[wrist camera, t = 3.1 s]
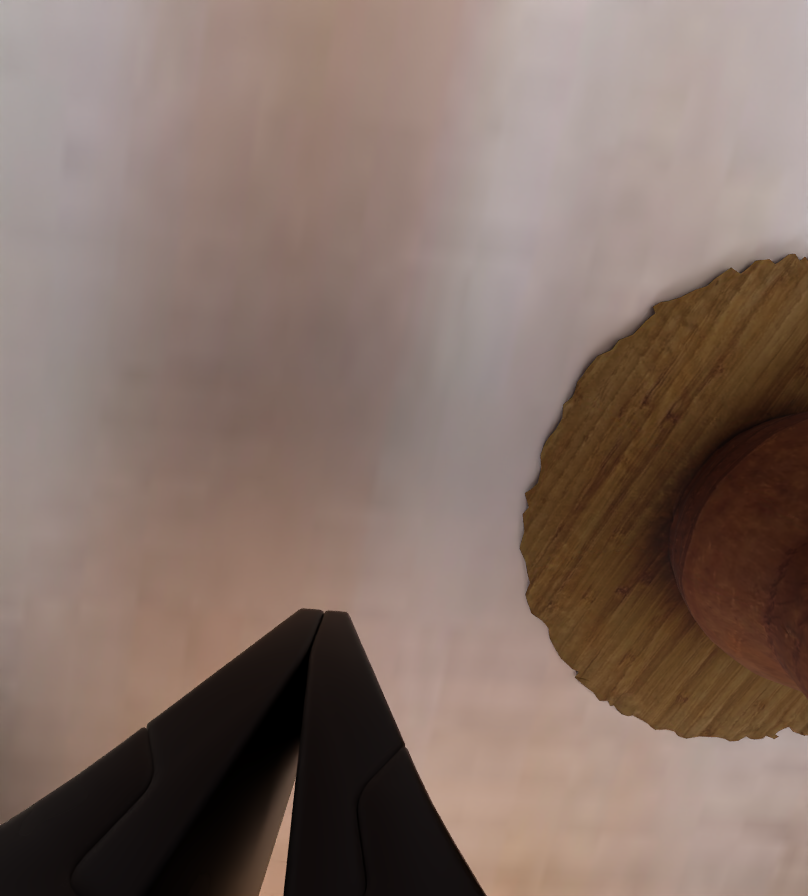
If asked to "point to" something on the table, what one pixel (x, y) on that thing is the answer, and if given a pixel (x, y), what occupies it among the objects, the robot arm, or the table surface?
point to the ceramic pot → (686, 513)
